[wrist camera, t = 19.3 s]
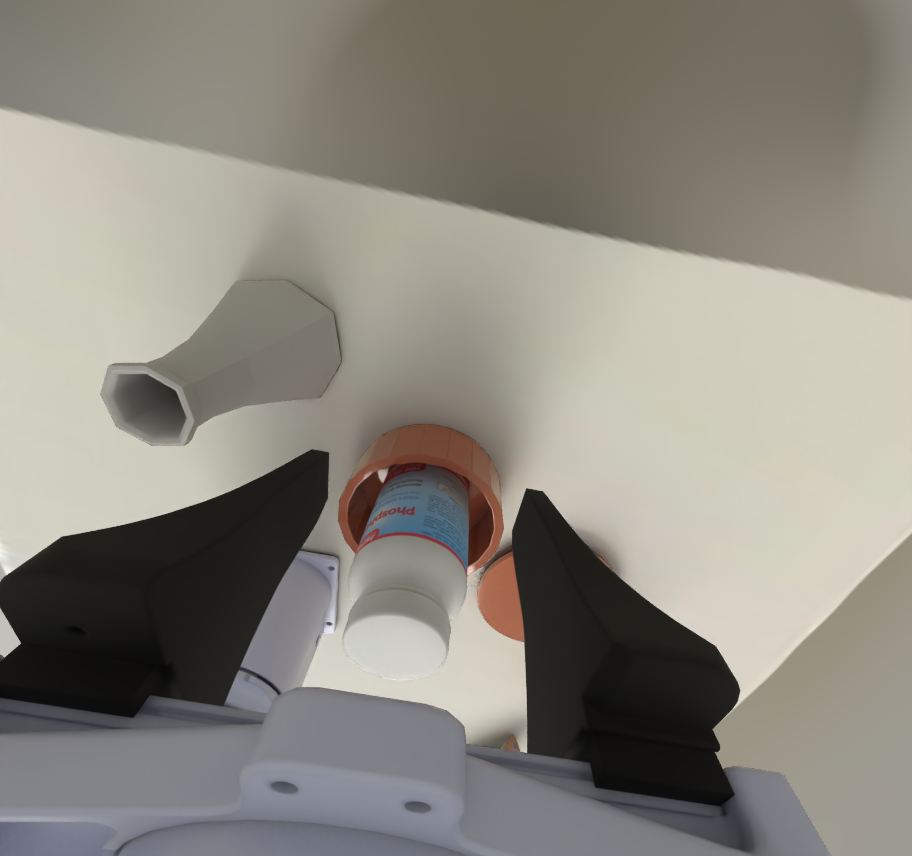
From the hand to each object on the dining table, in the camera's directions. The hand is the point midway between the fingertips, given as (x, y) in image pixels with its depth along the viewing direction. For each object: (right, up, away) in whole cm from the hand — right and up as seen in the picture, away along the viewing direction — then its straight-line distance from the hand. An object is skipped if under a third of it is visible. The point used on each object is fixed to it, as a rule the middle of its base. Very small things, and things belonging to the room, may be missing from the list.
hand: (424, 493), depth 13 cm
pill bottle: (-1, -2, +13) cm, 13 cm away
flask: (-9, +8, +9) cm, 15 cm away
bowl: (-1, -2, +13) cm, 13 cm away
